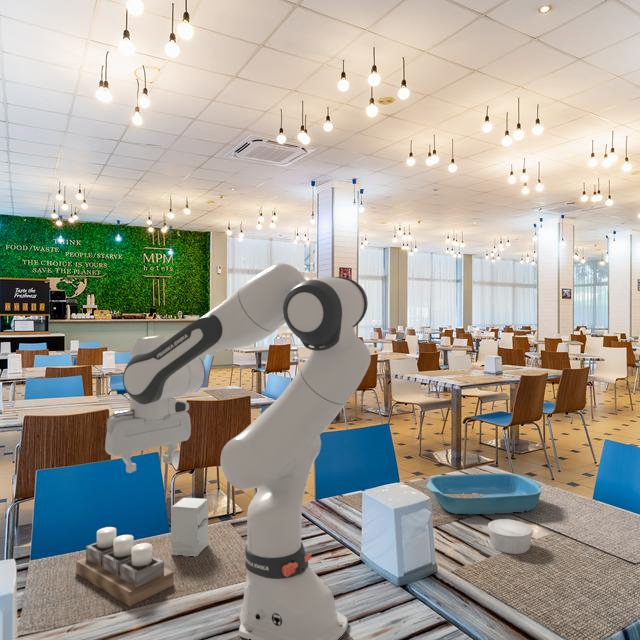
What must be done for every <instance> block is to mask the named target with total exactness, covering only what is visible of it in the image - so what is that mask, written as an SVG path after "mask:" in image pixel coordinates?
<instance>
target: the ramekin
mask: <svg viewBox="0 0 640 640" xmlns="http://www.w3.org/2000/svg"><path fill="white" fill-rule="evenodd" d="M487 530H488V534H489V539H490V544H491V545H492V547H493V548H494V549H495V550H497V551H498V552H502V553H505V554H508V555H511V554H512V555H522V554H525V553H527V552H528V551H529V550H530V548H531V543H532V537H533V534H534V530H533V528H532V527H531V526H530V525H528V524H527V523H524V522H522V521H519V520H514V519H507V518H504V519H502V518H501V519H500V518H499V519H495V520H491V521H490V522H488V523H487Z"/></svg>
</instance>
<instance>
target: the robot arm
mask: <svg viewBox="0 0 640 640" xmlns="http://www.w3.org/2000/svg"><path fill="white" fill-rule="evenodd" d="M368 303H369V301H368V296H367V294H366V290H365V289H364V288H363V286H362V285H361V284H359V283H358V282H357V281H355V280H353V279H351V278H347V277H344V276H342V277H341V276H336V277H335V276H333V277H332V276H324V277H318V278H315V279H309V280H308V279H306V278H305V277H304V276H303V274H302V273H301V271H300V270H298V269H297V268H296V267H294V266H292V265H291V264H288V263H284V262H283V263H277V264H273V265H272V266H270V267H268V268H266V269H264V270H262V271H261V272H259V273H257V275H255V276H253V277H252V278H251V279H249V280H248V281H246V282H245V283H244V284H243V285H241V286H240V287H239V288H238V289H237V290H236V291H235V292H233V293H232V294H231V295H229V296H228V297H227V298H225V300H223V301H222V302H220V303H219V304H218V305H217V306H215V307H214V308H212V309H211V310H210V311H208V312H207V313H205V314H204V315H202V316H201V317H199V318H197V319H196V320H194V321H192V323H190V324H188V325H187V326H186V327H184V328H182V329H181V330H180V331H178V332H176V334H174V335H173V336H171V337H169V338H168V337H167V336H164V335H153V336H145V337H141V338H138V339H136V340H135V341H134V342H133V344H132V348H131V352H130V360H129V361H128V362H127V364H126V366H125V368H124V371H123V375H122V385H123V387H124V388H123V389H124V391H125V392H126V393H127V395H128V396H129V409H128V410H123V411H115V412H113V413H112V414H111V415H110V416H108V418H107V419H106V436H105V442H104V443H105V445H104V450H105V452H106V453H107V455H110V456H113V457H119V456H121V457H120V458H121V459H122V461H123V462H124V464H125V471H126V473H127V474H131V473H135V472H137V464H136V463H135V462H132V460H131V458H133V453H137V452H143V451H146V450H150V449H155V448H159V447H163V446H166V447H167V449H166V452H165V454H163V455H162V462H163V464H171V463H172V462H173V456H174V454H175V451H176V450H177V448H178V443H181V442H182V443H183V442H185V441H189V439H190V437H191V432H192V431H191V430H192V429H191V428H192V424H191V416H190V414H189V412H188V411H189V409H190V403H189V402H187V401H184V400H179V399H176V398H177V397H182V396H187V395H191V394H193V393H196V392H198V391H199V390H200V389H201V388H202V386H203V385H204V382H205V379H206V367H205V364H204V362H203V359H201V357H203V356H206V355H209V354H213V353H215V352H220V351H225V350H231V349H237V348H245V347H249V346H252V345H253V344H256V343H258V342H260V341H262V340H264V339H266V338H267V337H268V336H271V335H272V334H273V333H274V332H276V331H277V330H278V329H279V328H280V327H282V326H283V325H284V324H286V325H287V327H288V328H289V329H290V331H291V332H292V333H293V334H294V335H295V336H296V337H297V338H298V339H299V340H300V342H301V343H302V345H303V346H304V348H305V349H308V350H310V351H311V353H310V354H309V356H308V358H307V359H306V361H305V362H304V363H303V364H302V365H301V367H300V369H299V370H298V371H297V373H296V374H295V375H294V377H293V378H292V379H291V381H290V382H289V383H288V385H287V386H286V387H285V389H284V390H283V392H282V393H281V394H280V395H279V396H278V397H277V398H276V400H274V402H273V403H271V405H269V406H268V407H267V408H266V409H265V410H264V411H263V412H262V413H260V414H259V415H258V416H257V418H255V419H254V420H253V421H252V422H251V423H250V424H249V425H248V426H247V427H246V428H244V429H243V430H242V431H241V432H240V433H239V434H237V435H236V436H235V437H232V438H231V439H230V440H228V442H226V444H225V445H224V446H223V448H222V450H221V454H220V467H221V472H222V475H223V476H224V478H225V480H226V481H227V482H228V483H229V484H230V486H232V487H234V488H236V489H238V490H246V489H257V491H256V493H255V495H254V496H253V498H252V499H251V501H250V502H249V505H248V507H247V513H246V519H247V520H246V521H247V522H246V525H247V526H246V531H247V535H246V536H247V539H246V543H247V544H246V546H245V551H244V552H245V554H244V566H245V568H246V575H245V576H246V577H245V582H244V583H245V584H244V592H243V599H242V600H243V601H242V605H241V608H240V609H241V610H240V612H239V621H240V625H239V628H238V636H240V637H241V638H244V639H247V640H249V639H251V640H337V639H338V638H339V637H340V636H342V635H343V633H344V632H345V631H347V630H348V626H349V623H348V622H349V621H348V618H347V617H346V616H345V615H344V614H342V613H340V612H339V611H337V609H336V601H335V597H334V594H333V593H332V591H331V589H330V588H328V586H327V584H326V582H325V580H323V579H321V578H320V577H319V576H318V575H317V574H316V572H315V571H314V570H313V568H312V567H310V565H309V561H310V560H311V559H313V556H312V555H313V553H312V552H310V553H308V554H307V553H306V550H305V546H304V544H303V542H302V511H303V502H304V496H305V493H306V488H307V485H308V480H309V476H310V473H311V470H312V467H313V465H314V462H315V461H316V459H317V458H318V456H319V454H320V451H321V449H322V440H321V434H322V433H324V432H325V431H326V430H327V428H329V426H330V425H331V424H332V422H333V421H334V419H336V417H337V415H339V413H340V412H341V411H342V409H343V408H345V406H346V404H347V403H348V402H349V400H350V399H351V398H352V396H353V395H354V394H355V392H356V391H357V389H358V388H359V386H360V384H361V383H362V381H363V379H364V377H365V376H366V374H367V371H368V369H369V367H370V365H371V362H372V361H371V359H372V358H371V357H372V356H371V352H370V349H369V348H368V347H367V345H366V344H365V342H364V341H363V340H362V338H360V337H358V336H357V334H356V333H355V327H356V326H358V325H359V324H360V323H361V321H362V320H363V319H364V318H365V315H366V314H367V311H368V310H367V309H368ZM345 633H346V632H345ZM345 633H344V634H345ZM343 636H344V635H343ZM343 636H342V637H343Z"/></svg>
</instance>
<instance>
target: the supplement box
mask: <svg viewBox="0 0 640 640" xmlns="http://www.w3.org/2000/svg"><path fill="white" fill-rule="evenodd" d="M170 509H171V510H170V513H171V514H170V518H171V519H170V521H171V522H170V524H171V526H170V529H171V530H170V534H171V535H170V541H171V542H170V544H171V545H170V547H171V548H170V552H171V553H170V554H171V556H178V555H183V556H182V557H189V556H194V557H193V558H197V557H198V556H199V555H200V554H201V552H203V550H204V549H205V548H206V547H207V546H209V515H208V514H209V500H208V498H199V497H198V498H197V497H183V498H181V499H180V500H179V501H177V502H175V504H174V505H172V506H171V508H170ZM196 556H197V557H196Z"/></svg>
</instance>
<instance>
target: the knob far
mask: <svg viewBox="0 0 640 640" xmlns="http://www.w3.org/2000/svg"><path fill="white" fill-rule="evenodd" d="M116 537H117V528H116V527H113V526H106V527H102V528H100V529H97V531H96V542H97V547H99V548H107V547H111V546H113V540H114V538H116Z"/></svg>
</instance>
